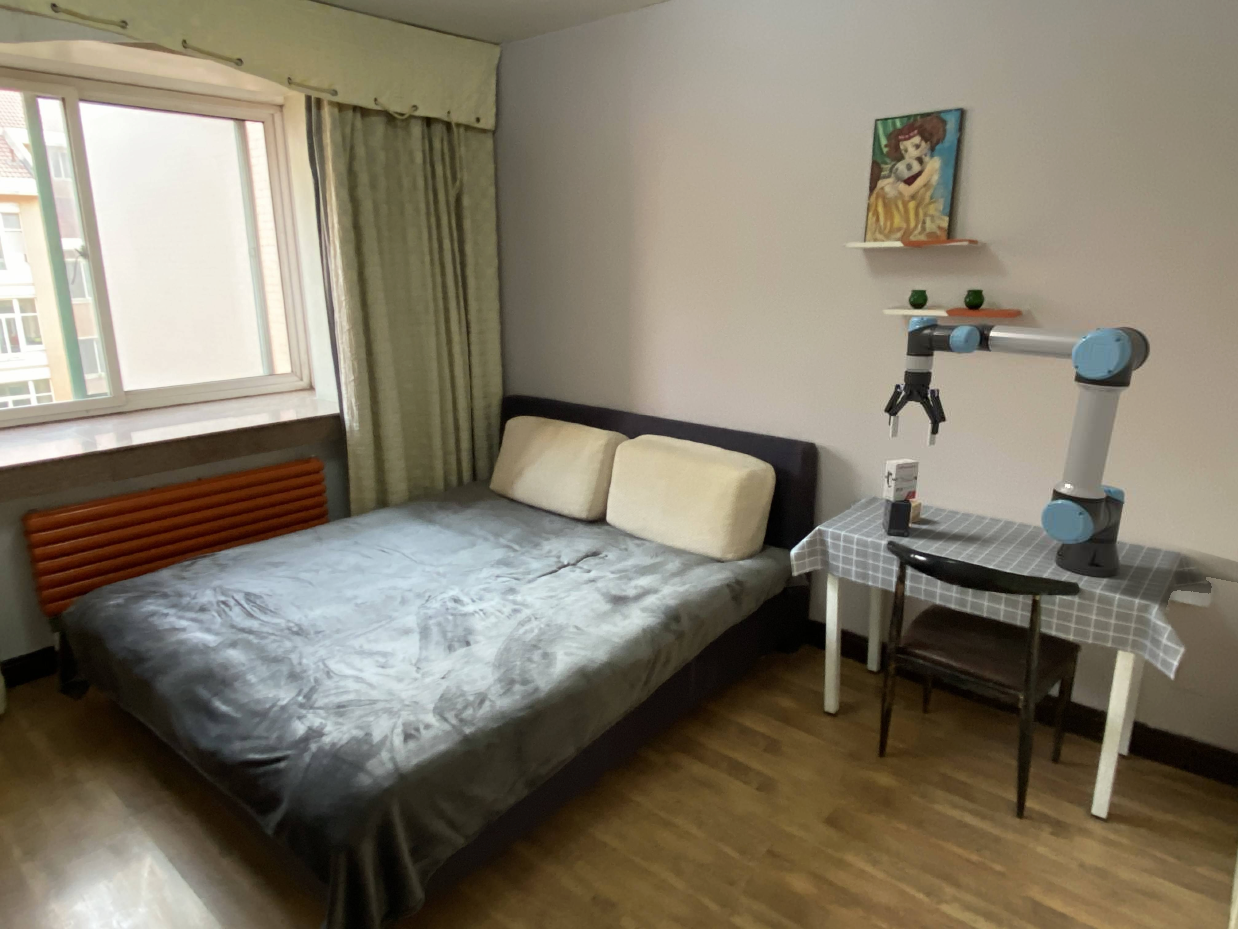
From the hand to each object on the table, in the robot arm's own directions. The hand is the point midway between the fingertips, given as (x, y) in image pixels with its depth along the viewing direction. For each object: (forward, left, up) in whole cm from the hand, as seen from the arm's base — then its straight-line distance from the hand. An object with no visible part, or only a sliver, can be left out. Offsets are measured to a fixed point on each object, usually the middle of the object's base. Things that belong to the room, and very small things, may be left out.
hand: (911, 441), depth 229 cm
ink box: (+1, +2, -18) cm, 18 cm away
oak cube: (+7, -10, -29) cm, 31 cm away
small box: (+1, +2, -29) cm, 29 cm away
